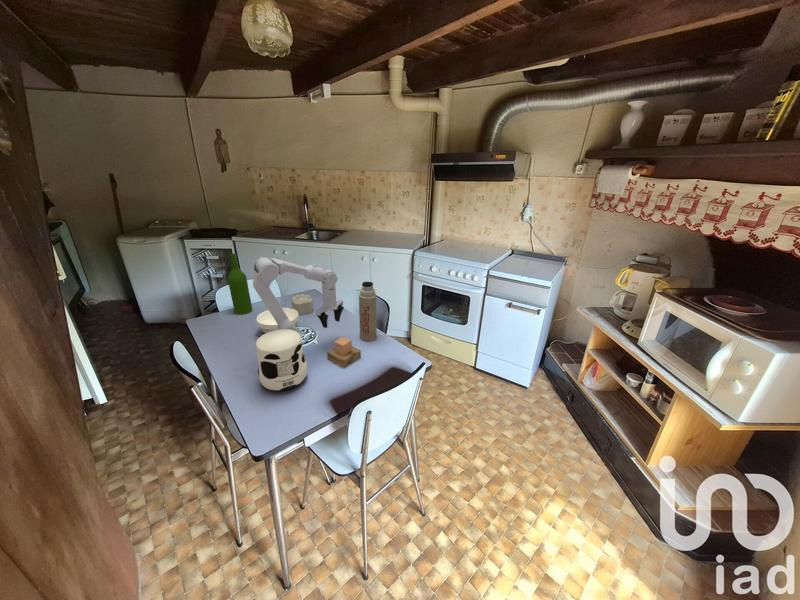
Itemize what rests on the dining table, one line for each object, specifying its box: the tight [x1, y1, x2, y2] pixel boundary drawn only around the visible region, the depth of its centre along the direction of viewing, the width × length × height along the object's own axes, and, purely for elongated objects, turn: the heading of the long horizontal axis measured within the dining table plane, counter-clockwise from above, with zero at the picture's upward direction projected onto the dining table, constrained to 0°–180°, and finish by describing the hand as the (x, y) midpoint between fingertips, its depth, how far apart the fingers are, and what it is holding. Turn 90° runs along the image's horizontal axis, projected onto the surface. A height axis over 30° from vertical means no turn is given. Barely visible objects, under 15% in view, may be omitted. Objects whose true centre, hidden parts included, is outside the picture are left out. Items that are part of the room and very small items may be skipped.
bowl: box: [256, 307, 299, 334], centre depth 150 cm, size 19×19×9 cm
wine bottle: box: [227, 253, 253, 316], centre depth 164 cm, size 9×9×32 cm
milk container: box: [255, 329, 308, 392], centre depth 114 cm, size 17×17×18 cm
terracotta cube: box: [333, 336, 353, 356], centre depth 130 cm, size 5×5×5 cm
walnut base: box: [326, 346, 362, 369], centre depth 132 cm, size 10×10×4 cm
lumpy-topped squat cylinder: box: [290, 293, 314, 317], centre depth 173 cm, size 10×13×9 cm
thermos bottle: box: [358, 281, 377, 342], centre depth 144 cm, size 8×8×28 cm
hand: (331, 324), depth 140 cm, fingers open, 7 cm apart
